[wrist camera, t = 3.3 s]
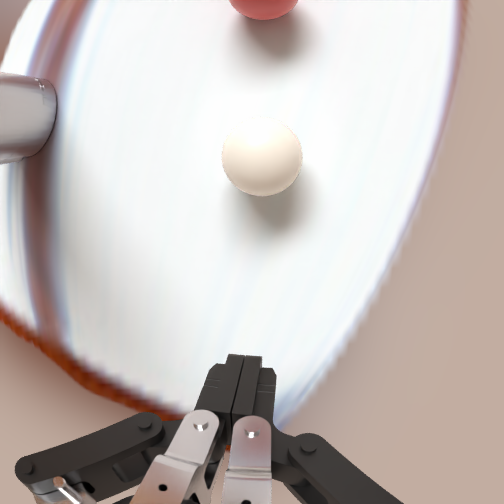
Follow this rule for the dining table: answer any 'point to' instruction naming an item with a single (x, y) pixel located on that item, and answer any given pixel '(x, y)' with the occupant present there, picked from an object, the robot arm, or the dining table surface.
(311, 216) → the dining table surface
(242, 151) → the cue ball
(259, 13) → the red ball
